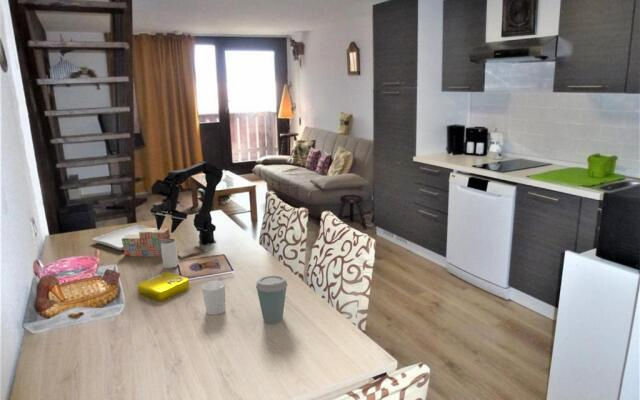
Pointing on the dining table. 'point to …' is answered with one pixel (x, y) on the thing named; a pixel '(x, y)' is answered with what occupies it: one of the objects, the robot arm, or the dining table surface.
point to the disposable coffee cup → (272, 297)
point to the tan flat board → (190, 252)
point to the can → (169, 253)
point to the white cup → (214, 297)
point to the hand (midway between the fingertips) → (165, 231)
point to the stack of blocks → (145, 242)
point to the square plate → (118, 236)
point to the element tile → (163, 286)
